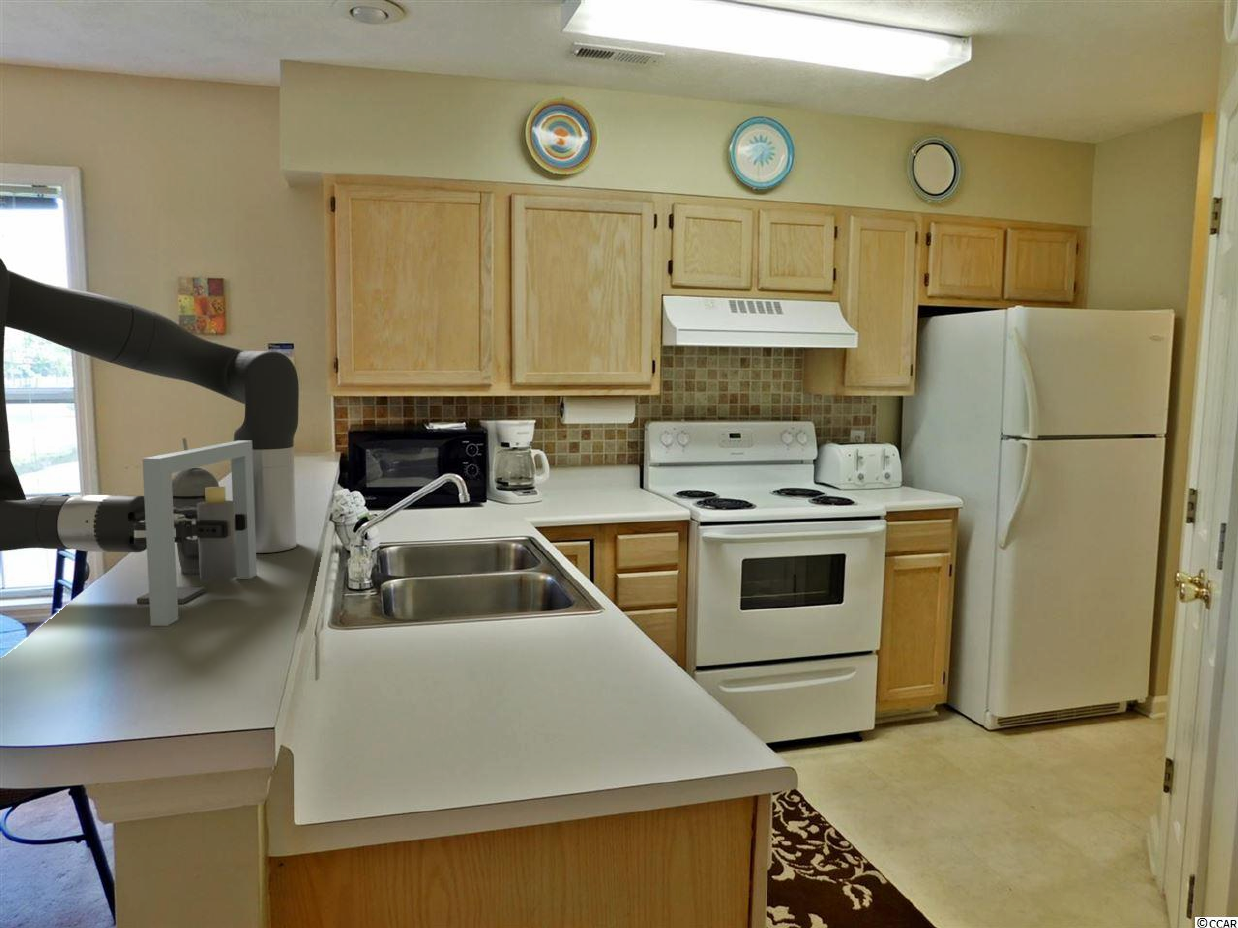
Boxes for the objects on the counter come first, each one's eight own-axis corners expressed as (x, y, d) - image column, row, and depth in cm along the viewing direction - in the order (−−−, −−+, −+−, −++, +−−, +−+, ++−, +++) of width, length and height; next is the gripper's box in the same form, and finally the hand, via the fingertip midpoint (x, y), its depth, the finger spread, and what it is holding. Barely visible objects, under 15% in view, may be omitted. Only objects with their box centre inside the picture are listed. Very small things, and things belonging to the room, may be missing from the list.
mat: (161, 590, 117) (161, 586, 117) (205, 591, 117) (205, 587, 117) (137, 602, 111) (136, 598, 111) (183, 603, 111) (182, 598, 111)
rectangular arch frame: (243, 574, 126) (238, 440, 124) (256, 574, 126) (252, 440, 124) (150, 625, 101) (142, 458, 99) (167, 625, 101) (159, 458, 99)
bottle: (210, 572, 116) (206, 485, 114) (243, 573, 116) (240, 485, 114) (193, 580, 111) (189, 490, 110) (227, 581, 111) (224, 490, 110)
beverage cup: (209, 576, 125) (204, 440, 123) (160, 575, 125) (154, 439, 123) (232, 564, 132) (228, 436, 130) (186, 564, 132) (181, 435, 130)
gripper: (72, 503, 105) (211, 506, 105) (137, 487, 119) (259, 489, 119) (75, 563, 106) (213, 565, 106) (139, 540, 120) (261, 542, 120)
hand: (237, 525), depth 113 cm, fingers closed on bottle, 4 cm apart
